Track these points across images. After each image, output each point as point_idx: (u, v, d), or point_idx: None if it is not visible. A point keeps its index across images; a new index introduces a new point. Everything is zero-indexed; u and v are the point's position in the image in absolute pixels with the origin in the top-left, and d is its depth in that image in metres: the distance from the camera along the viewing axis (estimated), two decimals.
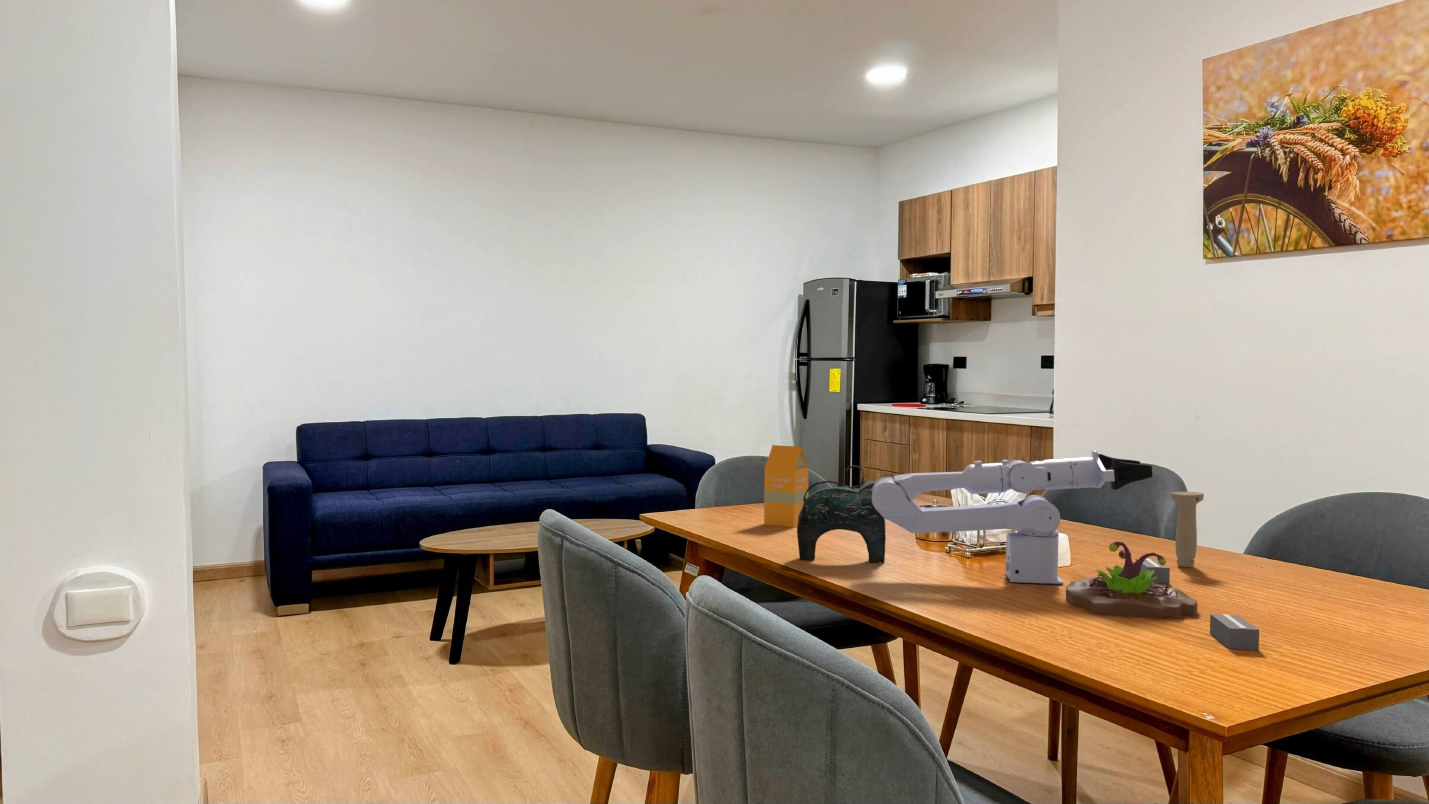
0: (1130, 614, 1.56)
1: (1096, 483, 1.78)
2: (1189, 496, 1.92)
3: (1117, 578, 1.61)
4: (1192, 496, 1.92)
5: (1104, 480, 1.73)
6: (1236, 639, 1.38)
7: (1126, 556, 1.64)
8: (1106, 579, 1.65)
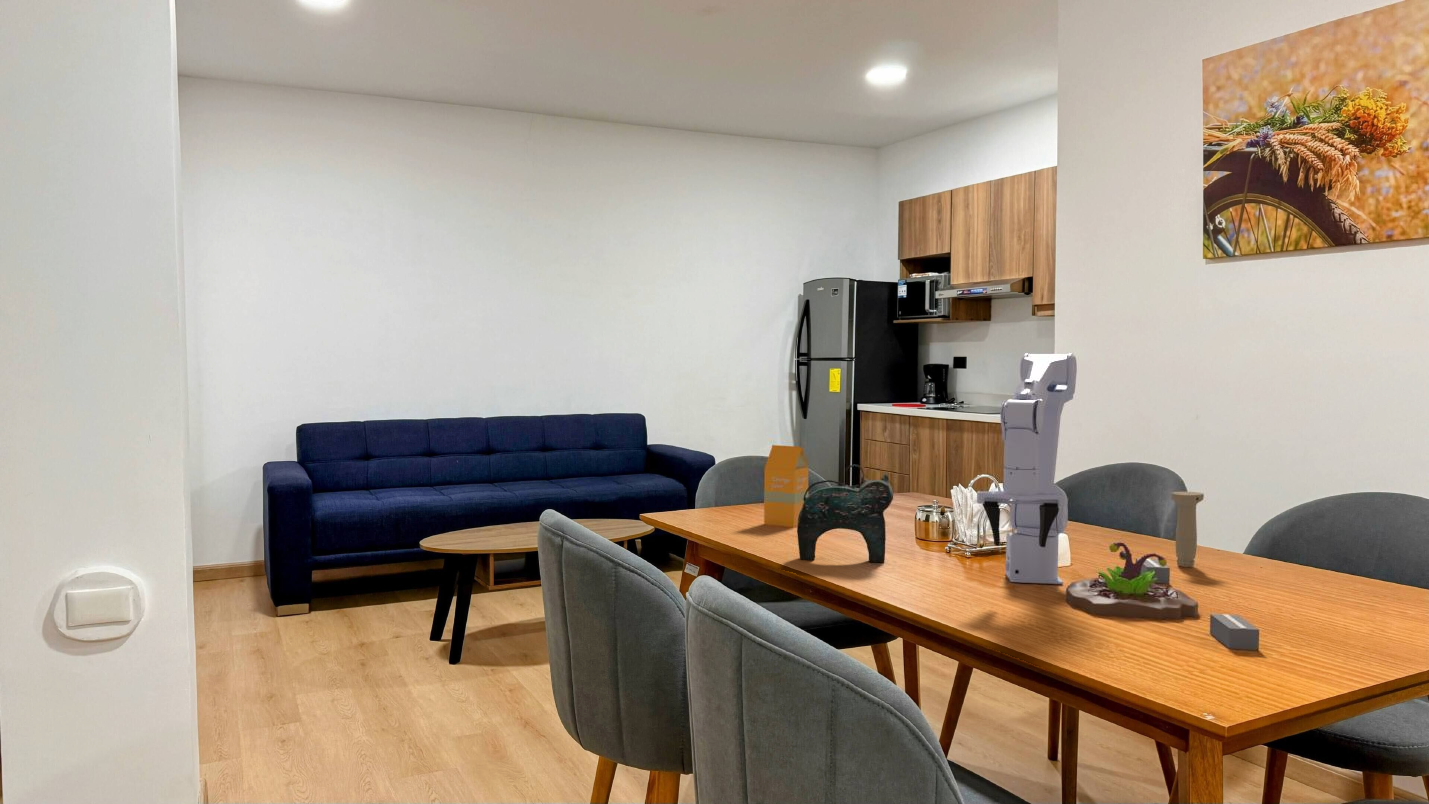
0: (1130, 615, 1.55)
1: None
2: (1189, 496, 1.92)
3: (1117, 579, 1.60)
4: (1192, 496, 1.92)
5: (977, 492, 1.68)
6: (1236, 639, 1.38)
7: (1126, 557, 1.63)
8: (1106, 580, 1.64)
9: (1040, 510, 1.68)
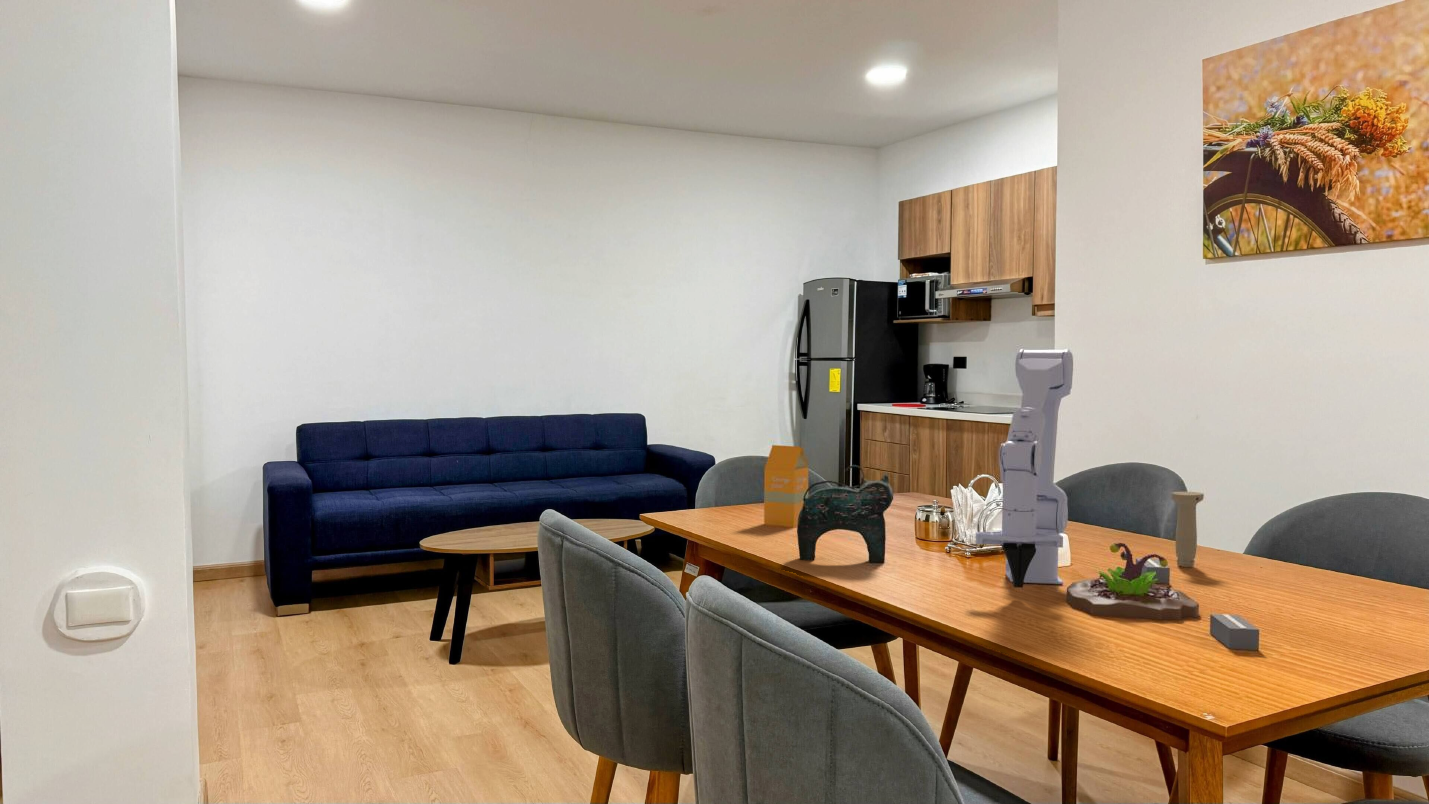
0: (1130, 615, 1.55)
1: None
2: (1189, 496, 1.92)
3: (1118, 579, 1.60)
4: (1192, 496, 1.92)
5: (976, 532, 1.69)
6: (1236, 639, 1.38)
7: (1127, 557, 1.63)
8: (1107, 580, 1.64)
9: (1018, 550, 1.68)
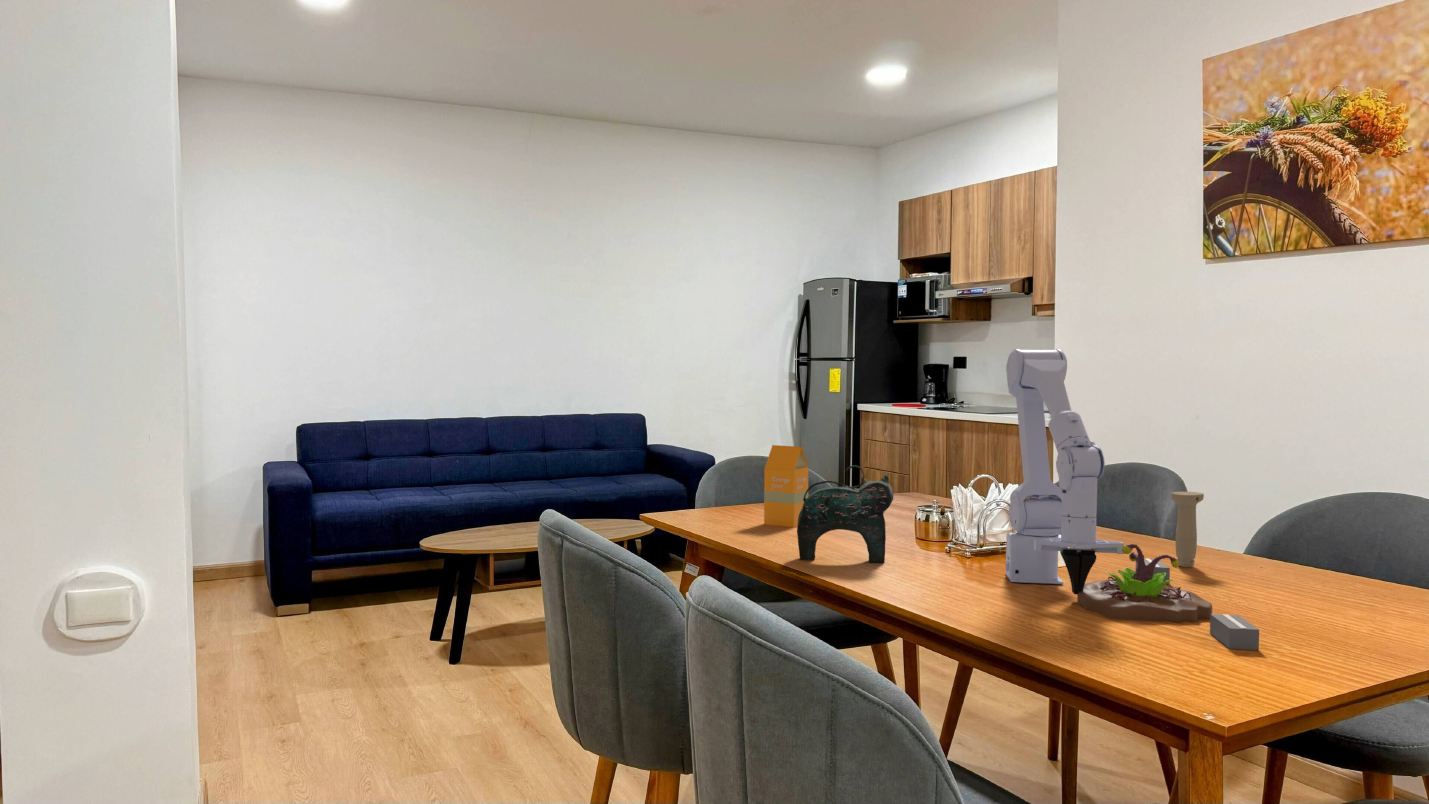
0: (1148, 618, 1.53)
1: None
2: (1189, 496, 1.92)
3: (1132, 581, 1.59)
4: (1192, 496, 1.92)
5: (1034, 539, 1.67)
6: (1236, 639, 1.38)
7: (1139, 558, 1.62)
8: (1119, 582, 1.62)
9: None
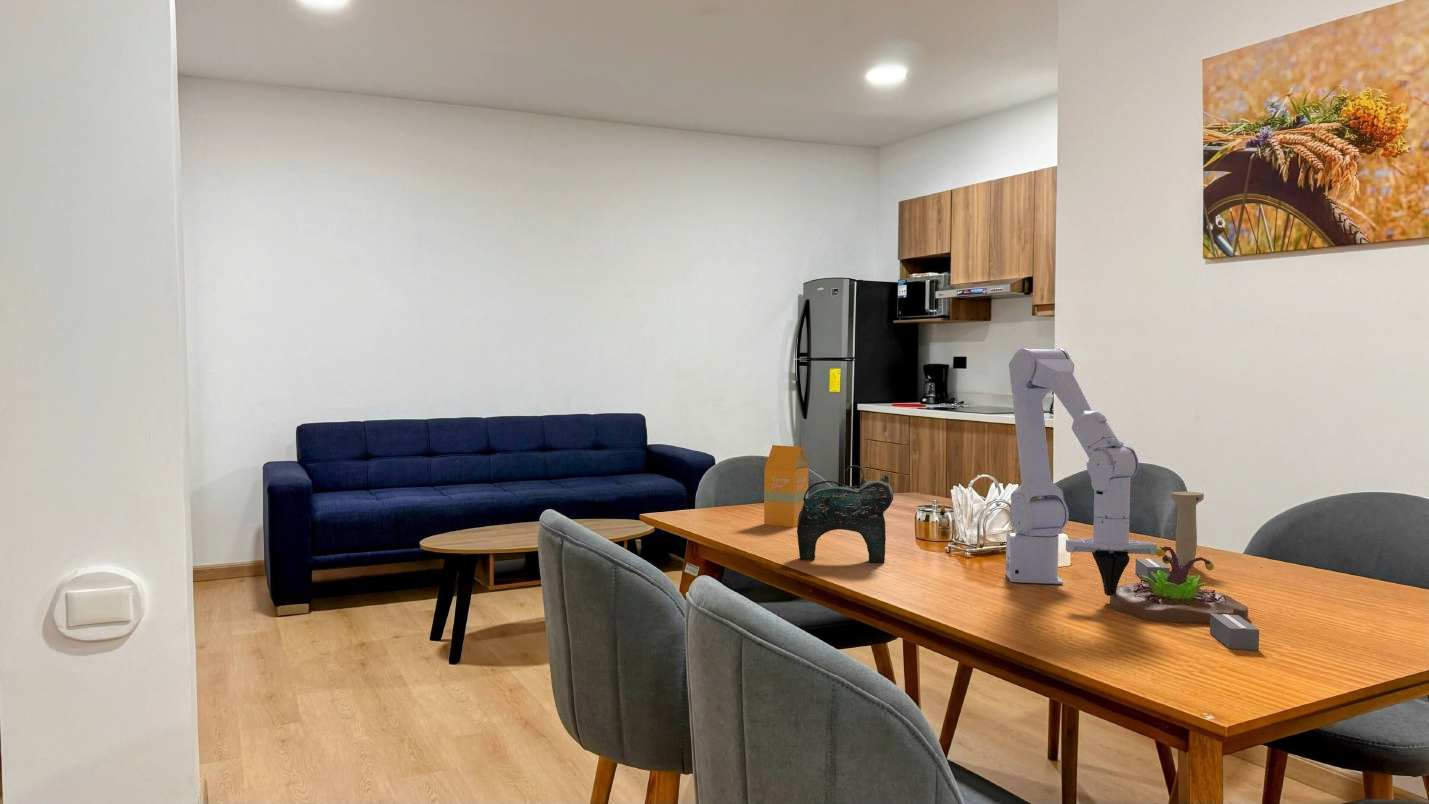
0: (1183, 621, 1.52)
1: None
2: (1189, 496, 1.92)
3: (1166, 584, 1.57)
4: (1192, 496, 1.92)
5: (1066, 540, 1.66)
6: (1236, 639, 1.38)
7: (1173, 561, 1.60)
8: (1152, 585, 1.61)
9: None
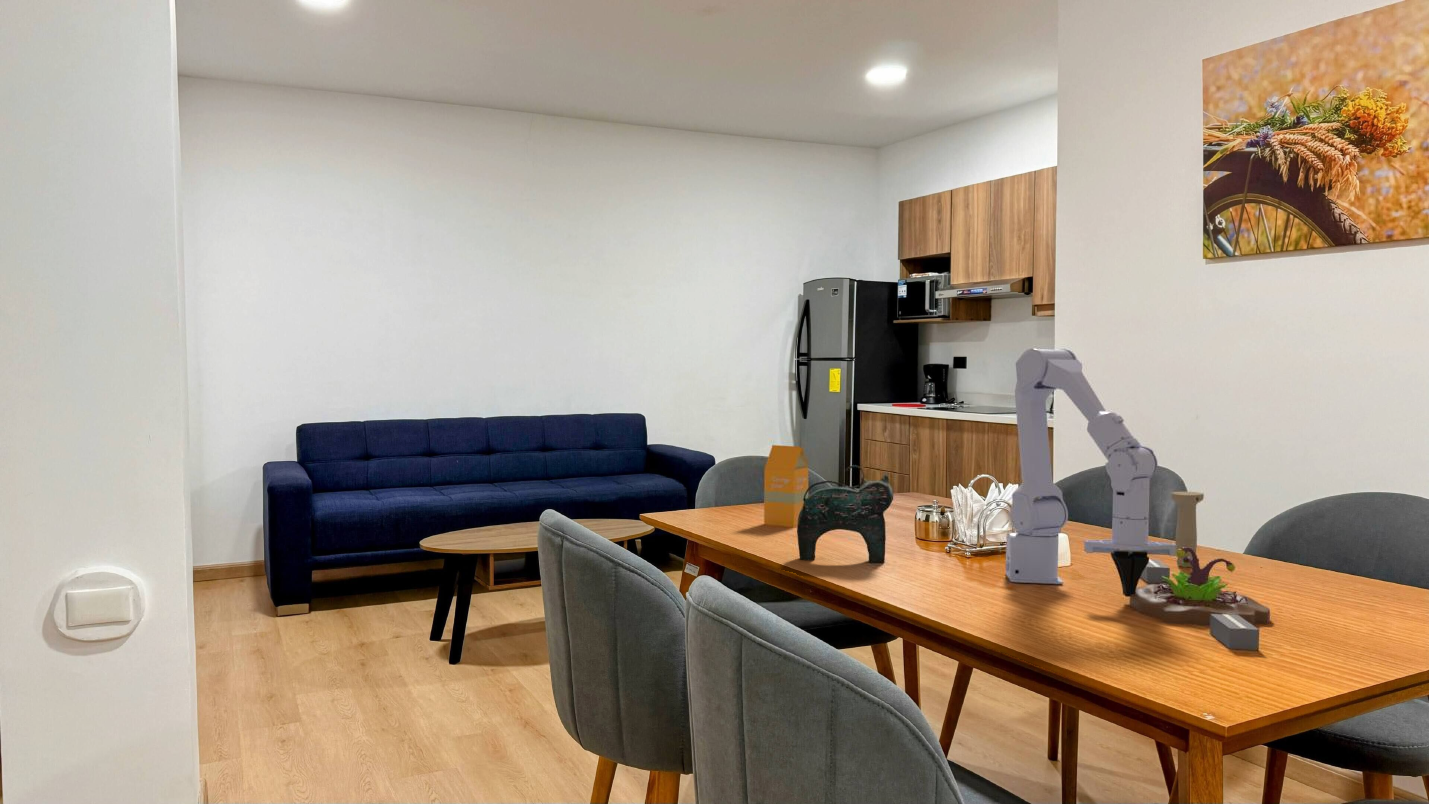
0: (1204, 622, 1.51)
1: None
2: (1189, 496, 1.91)
3: (1187, 585, 1.56)
4: (1192, 496, 1.92)
5: (1085, 541, 1.66)
6: (1236, 639, 1.38)
7: (1194, 562, 1.59)
8: (1173, 586, 1.60)
9: None
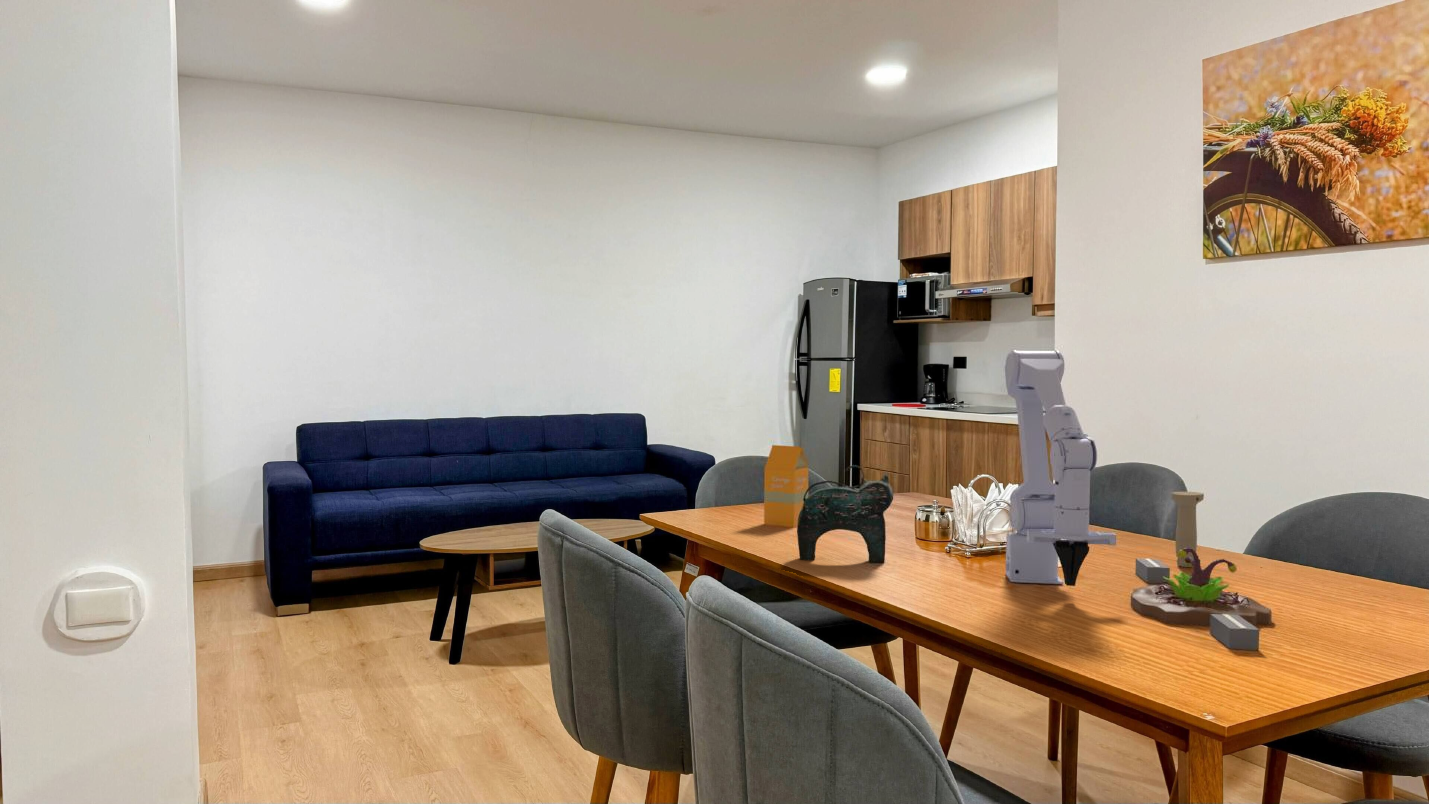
0: (1205, 623, 1.50)
1: None
2: (1189, 496, 1.92)
3: (1188, 586, 1.56)
4: (1192, 496, 1.92)
5: (1027, 531, 1.68)
6: (1236, 639, 1.38)
7: (1195, 563, 1.59)
8: (1174, 586, 1.60)
9: None
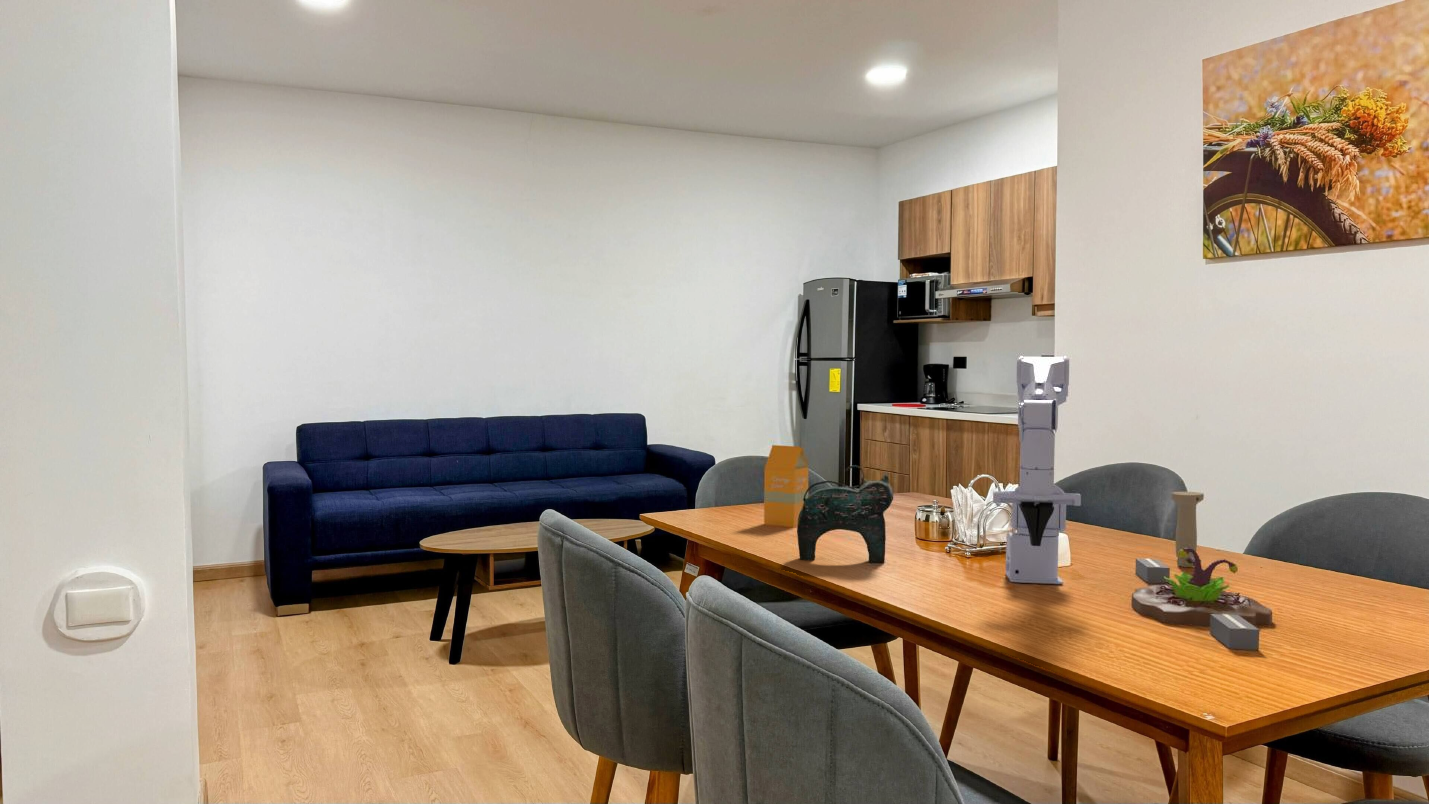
0: (1203, 623, 1.50)
1: None
2: (1189, 496, 1.92)
3: (1188, 586, 1.56)
4: (1192, 496, 1.92)
5: (993, 492, 1.69)
6: (1236, 639, 1.38)
7: (1196, 563, 1.58)
8: (1175, 587, 1.59)
9: None
